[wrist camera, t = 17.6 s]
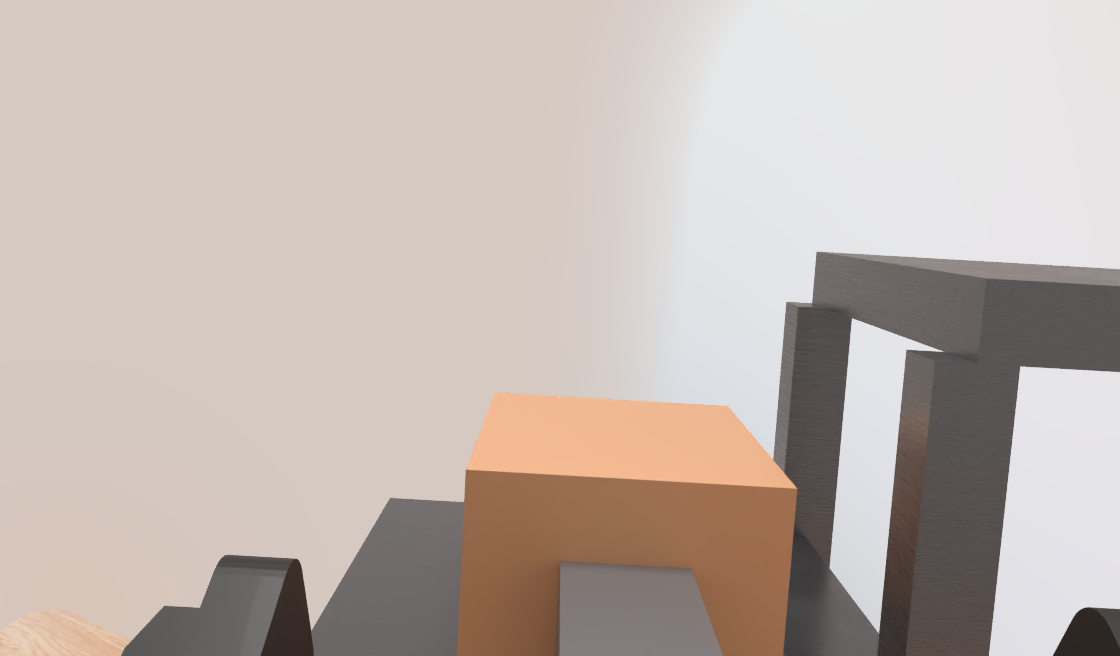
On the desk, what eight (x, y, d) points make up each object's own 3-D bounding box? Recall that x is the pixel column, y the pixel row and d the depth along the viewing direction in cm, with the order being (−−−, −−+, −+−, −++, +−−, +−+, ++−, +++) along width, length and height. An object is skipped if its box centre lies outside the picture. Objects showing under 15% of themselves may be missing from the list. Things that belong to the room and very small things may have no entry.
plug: (967, 1124, 10) (1009, 740, 10) (361, 1089, 10) (376, 705, 10) (716, 556, 27) (727, 406, 27) (487, 543, 27) (495, 392, 27)
